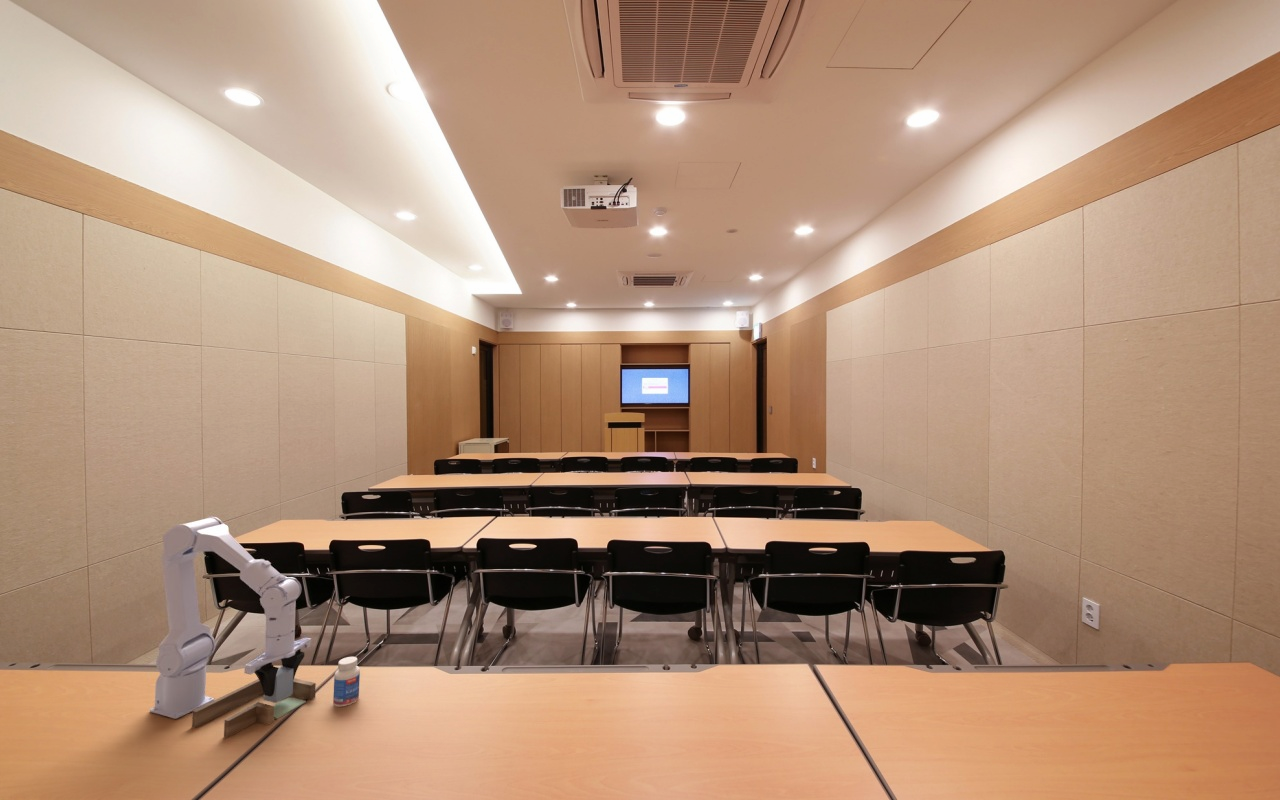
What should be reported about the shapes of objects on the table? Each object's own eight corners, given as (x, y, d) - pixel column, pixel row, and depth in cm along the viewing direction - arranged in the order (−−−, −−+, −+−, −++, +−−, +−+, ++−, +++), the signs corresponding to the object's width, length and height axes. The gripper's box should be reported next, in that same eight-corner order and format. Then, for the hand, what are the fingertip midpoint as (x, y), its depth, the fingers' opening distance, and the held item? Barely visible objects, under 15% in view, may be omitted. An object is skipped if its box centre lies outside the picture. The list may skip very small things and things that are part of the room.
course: (192, 726, 110) (192, 710, 110) (270, 686, 126) (270, 672, 126) (240, 741, 105) (240, 724, 105) (315, 697, 121) (315, 683, 121)
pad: (259, 714, 114) (259, 713, 114) (289, 698, 121) (289, 696, 121) (277, 719, 113) (277, 717, 113) (305, 702, 119) (306, 700, 119)
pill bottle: (347, 709, 117) (348, 667, 117) (327, 706, 118) (329, 664, 118) (364, 696, 122) (365, 656, 122) (345, 693, 123) (346, 654, 124)
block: (263, 700, 116) (264, 674, 116) (280, 691, 120) (281, 666, 120) (276, 703, 115) (276, 677, 115) (292, 693, 119) (293, 668, 119)
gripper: (261, 648, 110) (259, 710, 109) (320, 622, 124) (319, 677, 123) (238, 643, 112) (236, 704, 112) (299, 618, 126) (298, 672, 125)
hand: (278, 689), depth 118 cm, fingers closed on block, 4 cm apart
